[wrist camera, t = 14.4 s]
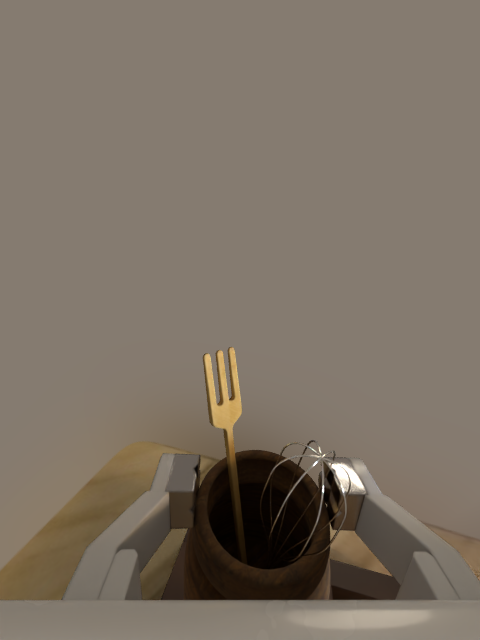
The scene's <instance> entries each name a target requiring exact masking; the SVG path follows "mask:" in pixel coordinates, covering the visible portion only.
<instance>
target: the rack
mask: <svg viewBox="0 0 480 640" xmlns="http://www.w3.org/2000/svg"><path fill="white" fill-rule="evenodd" d="M189 530H190V528H188V530H187V533H186V535H185V538H184V541H183V543H182V546H181V549H180V551H179V554H178V557H177V559H176V562H175V564H174V567H173V570H172V572H171V575H170V578H169V580H168V583H167V585H166V588H165V591H164V593H163V596H162V599H161V600H184V558H185V549H186V543H187V538H188V534H189ZM329 561H330V593H329V600H395V599H396V596H397V594H398V591H399V589H400V586H401V585H400V584H399V583H398V581H397V580H396V579H395V578H394V577H392V576H388V575H385V574H381V573H378V572H374V571H370V570H367V569H363V568H360V567H356V566H353V565H349V564H345V563H342V562H338V561H335V560H331V559H329Z"/></svg>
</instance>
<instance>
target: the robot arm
mask: <svg viewBox="0 0 480 640" xmlns="http://www.w3.org/2000/svg"><path fill="white" fill-rule="evenodd" d="M324 458H327V457H324ZM328 459H330V460H333V458H329V457H328ZM325 461H326V462H327V463H328V464H329V465H330V464H331V461H328V460H325ZM334 461H335V462H337V463H338V464H340V465H341V466H342V467H344V468H345V470H346V471H347V472H348V474H349V476H350V479H351V489H350V492H349V494H348V496H347V498H346V504H347V513H346V518H345V520H344V523H343V525H342V527H341V529H340V530H349V531H355V533H356V534H357V535H358V536H359V537H360V538H361V540H362V541H363V542H364V543H365V544H366V545H367V547H368V548H369V549H370V550H371V551H372V552H373V554H374V555H375V556H376V557H377V558H378V559H379V561H380V562H381V563H382V564H383V565H384V566H385V568H386V569H387V570H388V571H389V572H390V573H391V574H392V576H393V577H394V578H395V579H396V580H397V581H398V583H399V584H400V585H401V586H400V589H399V591H398V594H397V596H396V599H395V600H142V593H141V583H140V573H141V571H142V570H143V568H144V567H145V566H146V564H147V563H148V561H149V560H150V559H151V557H152V556H153V554H154V553H155V552H156V550H157V549H158V547H159V546H160V545H161V543H162V542H163V540H164V539H165V537H166V536H167V535H168V533H169V532H170V529H182V528H194V523H195V512H196V504H197V494H198V491H199V486H200V470H199V468H200V455H192V454H167V453H163V455H162V456H161V458H160V461H159V464H158V467H157V470H156V473H155V476H154V479H153V482H152V485H151V488H150V491H145V492H144V493H143V494H142V495H141V496H140V497H139V498H138V499H137V500H136V501H135V502H134V503H133V504H132V505H131V506H130V507H128V508H127V509H126V510H125V511H124V512H123V513H122V514H121V515H120V516H119V517H118V518H117V519H116V520H115V521H114V522H113V523H112V524H111V525H110V526H108V527H107V528H106V529H105V530H104V531H103V532H102V533H101V534H100V535H99V536H98V537H97V538H96V539H95V540H94V541H93V542H92V543H91V544H90V545H89V546H87V547H86V550H85V552H84V554H83V556H82V558H81V560H80V562H79V564H78V566H77V568H76V570H75V572H74V574H73V576H72V579H71V581H70V583H69V585H68V587H67V589H66V591H65V593H64V595H63V597H62V599H61V600H0V640H480V581H479V580H478V579H477V577H476V576H475V574H474V573H473V572H472V570H471V569H470V567H469V566H468V565H467V563H466V562H465V560H464V559H463V558H462V556H461V555H460V554H459V552H458V551H457V550H456V549H455V548H453V547H452V546H451V545H449V544H448V543H447V542H446V541H444V540H443V539H442V538H441V537H439V536H438V535H437V534H435V533H434V532H433V531H432V530H430V529H429V528H428V527H427V526H425V525H424V524H423V523H421V522H420V521H419V520H418V519H416V518H415V517H414V516H412V515H411V514H410V513H409V512H407V511H406V510H405V509H403V508H402V507H401V506H400V505H398V504H397V503H396V502H395V501H393V500H392V499H391V498H389V497H388V496H387V495H383V494H382V493H381V491H380V489H379V488H378V486H377V484H376V483H375V481H374V479H373V477H372V476H371V474H370V472H369V471H368V469H367V468H366V466H365V464H364V463H363V461H362V460H361V459H360V458H335V459H334ZM321 466H322V464H321ZM323 467H324V477H325V475H326V473H327V471H328V468H329V467H328V466H327V464H326V463H325V462H324V461H323ZM331 468H332V469H333V471H334V472H335V474H336V475H337V477H338V479H339V481H340V483H341V485H342V488H343V490H344V494H345V496H346V494H347V492H348V489H349V484H350V483H349V478H348V475H347V474H346V472H345V471H344V470H343V469H342V468H341V467H340V466H338V465H337V464H335V463H333V464H332V466H331ZM318 482H319V486H320V484H321V482H322V471H321V472H320V473H319V479H318ZM319 490H320V492H321V494H322V486H321V488H320V489H319ZM323 498H324V501H325V503H326V504H327V511H328V515H329V521H330V520H331V519H332V518H333V516H334V515H335V514H336V512H337V511H338V509H339V507H340V505H341V504H342V502H343V500H344V497H343V493H342V490H341V487H340V485H339V483H338V481H337V479H336V477H335V475H334V474H333V472H332V471H331V469H330V470H329V472H328V474H327V476H326V478H325V480H324V493H323ZM344 513H345V503H344V504H343V506H342V507H341V509H340V511H339V512H338V514H337V515H336V517H335V518H334V519H333V520H332V521H331V522H330V524H331V526H332V529H333V530H338V528H339V526H340V524H341V522H342V520H343V517H344Z"/></svg>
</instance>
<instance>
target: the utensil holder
mask: <svg viewBox="0 0 480 640" xmlns="http://www.w3.org/2000/svg"><path fill="white" fill-rule="evenodd" d="M228 359H229V370H230V380H231V391H232V396H231V398H230V399H229V397H228V389H227V381H226V375H225V366H224V359H223V352H222V351H221V350H218V351H217V352H216V362H217V372H218V382H219V392H220V402H219V403H218V404H217V403H216V395H215V388H214V380H213V373H212V365H211V358H210V355H209V354H208V353H206V354H204V356H203V363H204V372H205V383H206V391H207V402H208V411H209V419H210V423H211V425H212V426H214V427H217V428H222V429H223V430H224V438H225V446H226V455H227V457H226V458H224V459H222V460H221V461H219V462H218V463H217V464H216V465H215V466H214V467H213V468H212V469H211V470H210V471H209V472H208V473H207V475H206V476H205V478H204V480H203V481H202V483H201V486H200V488H199V491H198V494H197V504H196V512H195V523H194V528H190V530H189V534H188V538H187V543H186V549H185V558H184V600H329V593H330V561H329V552H330V545H331V544H332V542H333V541H334V539H335V538H336V536H337V534H338V532H339V530H340V529H341V527H342V525H343V523H344V520H345V518H346V513H347V504H346V498H347V496H348V494H349V492H350V489H351V479H350V476H349V474H348V472H347V471H346V470H345V468H344V467H342V466H341V465H340V464H338V463H337V462H335V461H334V459H335V451H329V452H328V453H326V454H324V455H323V456H322V454H321V450H320V447H319V444H318V443H317V441H315V440H311V441H310V442H309V443H308V444H307V445H305V444H303V443H299V442H292V443H289V444H287V445H286V446H285V447H284V448H283V450H282V452H281V453H280V455H278V454H275V453H272V452H268V451H262V450H249V451H242V452H238V453H235V450H234V440H233V431H232V428H233V425H234V423H235V422H236V421H237V419H238V418H239V417H240V415H241V413H242V407H241V398H240V390H239V382H238V374H237V366H236V359H235V350H234V348H233V347H230V348H229V349H228ZM313 441H314V442H316V443H317V446H318V448H319V452H320V455H319V454H318V453H317V452H316V451H315V450H313V449H312V448H311V447H309V446H308V445H309V444H310V443H311V442H313ZM291 444H301V445H304V446H306V448H305V450H304V452H303V454H302V455H297V456H292V457H289V458H285V457H283V456H281V455H282V453H283V451H284V449H285V448H286V447H287V446H289V445H291ZM307 447H308V448H309V449H311V450H312V451H313V452H315V453H316V454H317V455H318V456H315V455H304V453H305V451H306V449H307ZM332 452H334V457H333V460H330V459H328V458H324V457H325V456H326V455H328V454H329V453H332ZM296 457H301V458H300V461H299V463H298V465H297V464H295V463H294V462H292V461H291V460H289V459H292V458H296ZM302 457H316V458H319V459H318V460H317V461H316V462H314V463H313V464H312V465H311V466H310V467H309V468H308V469H307V470H306V471H304V470H303V469H302V468H301V467H299V464H300V462H301V460H302ZM320 460H321V464H322V482H321V484H320V486H319V488H318V487H317V485H316V484H315V482H314V481H313V480H312V478H311V477H310V476H309V475H308V474H307V472H308V471H309V470H310V469H311V468H312V467H313V466H314V465H315V464H316V463H317V462H318V461H320ZM325 460H328V461H331V464H330V465H329V464H328V463H327V462H326V461H325ZM323 461H324V462H325V463H326V464H327V466H328V467H329V468H328V471H327V473H326V475H325V477H324V467H323ZM333 463H335V464H337V465H338V466H340V467H341V468H342V469H343V470H344V471H345V472H346V474H347V475H348V478H349V483H350V484H349V489H348V492H347V494H346V496H345V494H344V490H343V488H342V485H341V483H340V481H339V479H338V477H337V475H336V474H335V472H334V471H333V469H332V468H331V466H332V464H333ZM330 469H331V471H332V472H333V474H334V475H335V477H336V479H337V481H338V483H339V485H340V487H341V490H342V493H343V497H344V500H343V502H342V504H341V505H340V507H339V509H338V511H337V512H336V514H335V515H334V516H333V518H332V519H331V520H330V521H329V515H328V511H327V507H326V504H325V501H324V498H323V493H324V480H325V478H326V476H327V474H328V472H329V470H330ZM321 486H322V494H321V492H320V490H319V489H320V488H321ZM344 503H345V513H344V517H343V520H342V522H341V524H340V526H339V528H338V530H337V532H336V533H335V535H334V537H333V539H332V540H331V541H330V522H331V521H332V520H333V519H334V518H335V517H336V515H337V514H338V512H339V511H340V509H341V507H342V506H343V504H344Z"/></svg>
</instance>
